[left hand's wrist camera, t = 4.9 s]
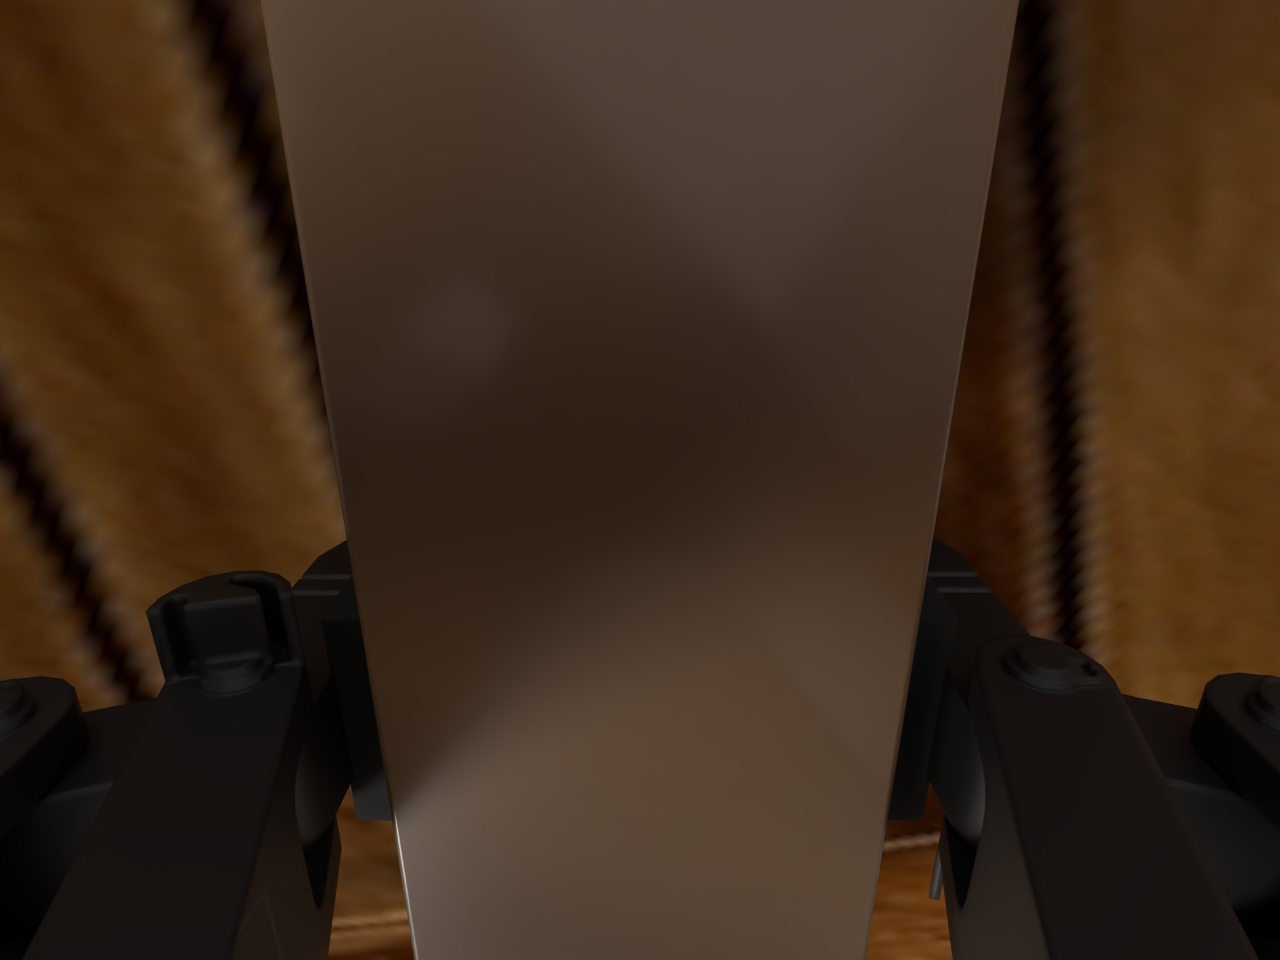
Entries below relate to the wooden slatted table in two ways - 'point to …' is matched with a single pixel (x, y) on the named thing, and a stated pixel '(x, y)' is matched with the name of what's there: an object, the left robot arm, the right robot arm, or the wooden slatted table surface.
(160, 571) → the wooden slatted table surface
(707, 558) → the bar
